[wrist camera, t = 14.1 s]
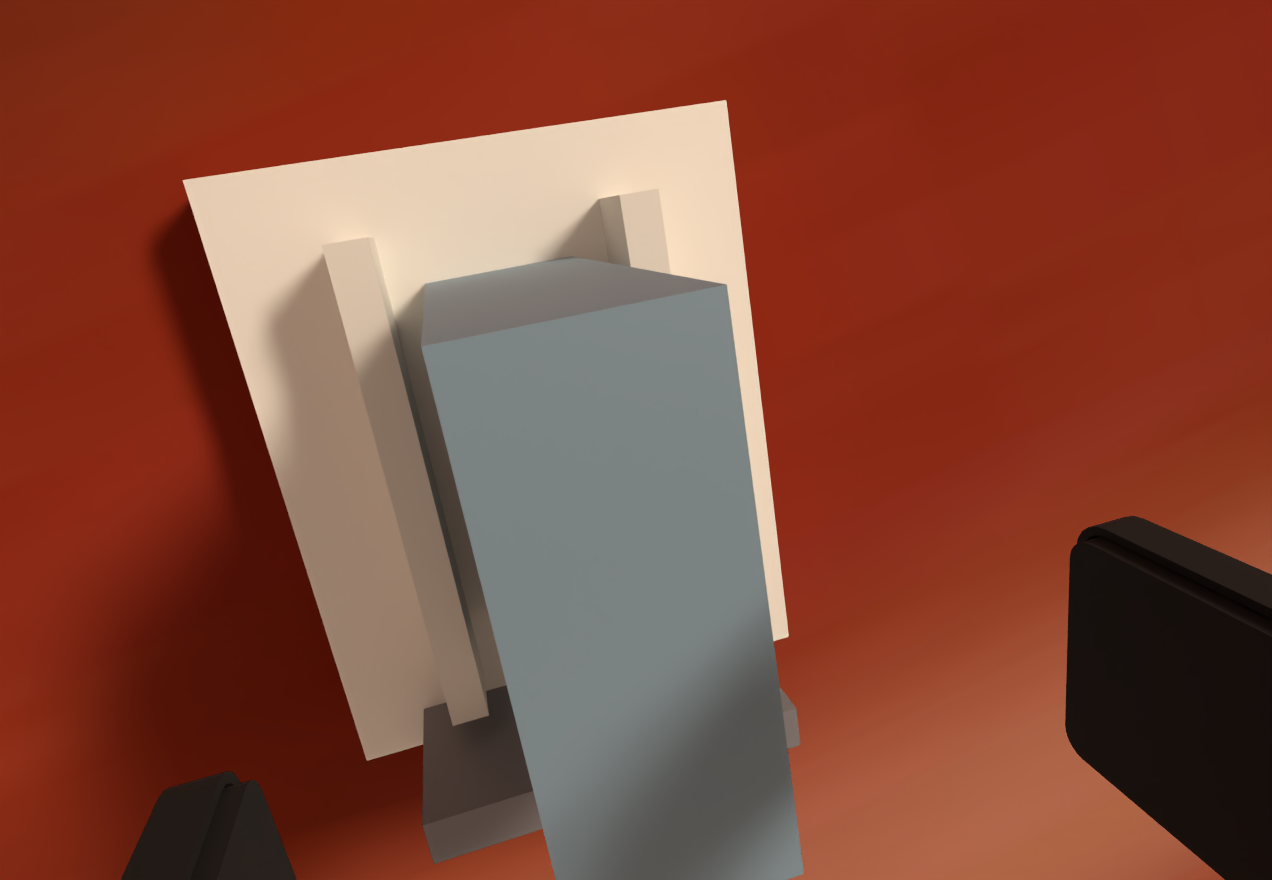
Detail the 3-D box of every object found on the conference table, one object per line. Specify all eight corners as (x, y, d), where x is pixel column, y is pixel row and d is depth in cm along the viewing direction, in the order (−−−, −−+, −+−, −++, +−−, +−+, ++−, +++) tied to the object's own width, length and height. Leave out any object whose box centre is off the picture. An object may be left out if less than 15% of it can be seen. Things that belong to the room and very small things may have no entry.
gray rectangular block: (425, 283, 21) (420, 346, 10) (571, 255, 22) (726, 284, 10) (505, 613, 24) (575, 957, 12) (631, 578, 24) (803, 873, 13)
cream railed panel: (204, 184, 21) (101, 164, 14) (702, 110, 23) (808, 64, 17) (371, 722, 26) (351, 890, 19) (765, 609, 28) (866, 723, 22)
